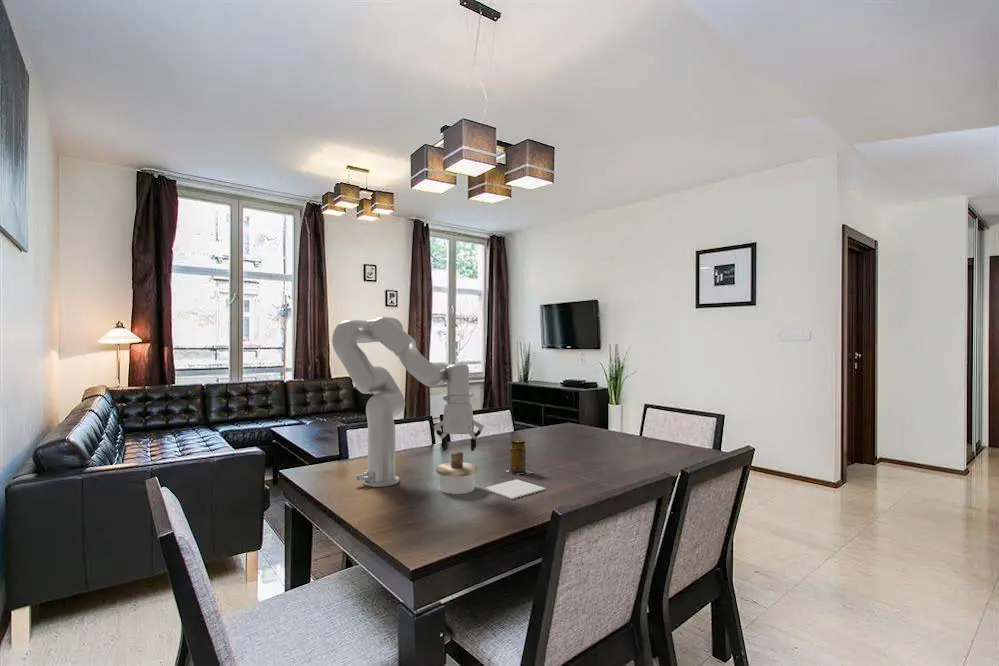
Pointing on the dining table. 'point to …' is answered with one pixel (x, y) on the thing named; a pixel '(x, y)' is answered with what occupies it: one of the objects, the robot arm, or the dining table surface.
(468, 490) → the bowl
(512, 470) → the condiment
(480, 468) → the dining table surface
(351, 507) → the dining table surface
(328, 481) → the dining table surface
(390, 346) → the robot arm
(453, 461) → the lid
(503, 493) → the mat
